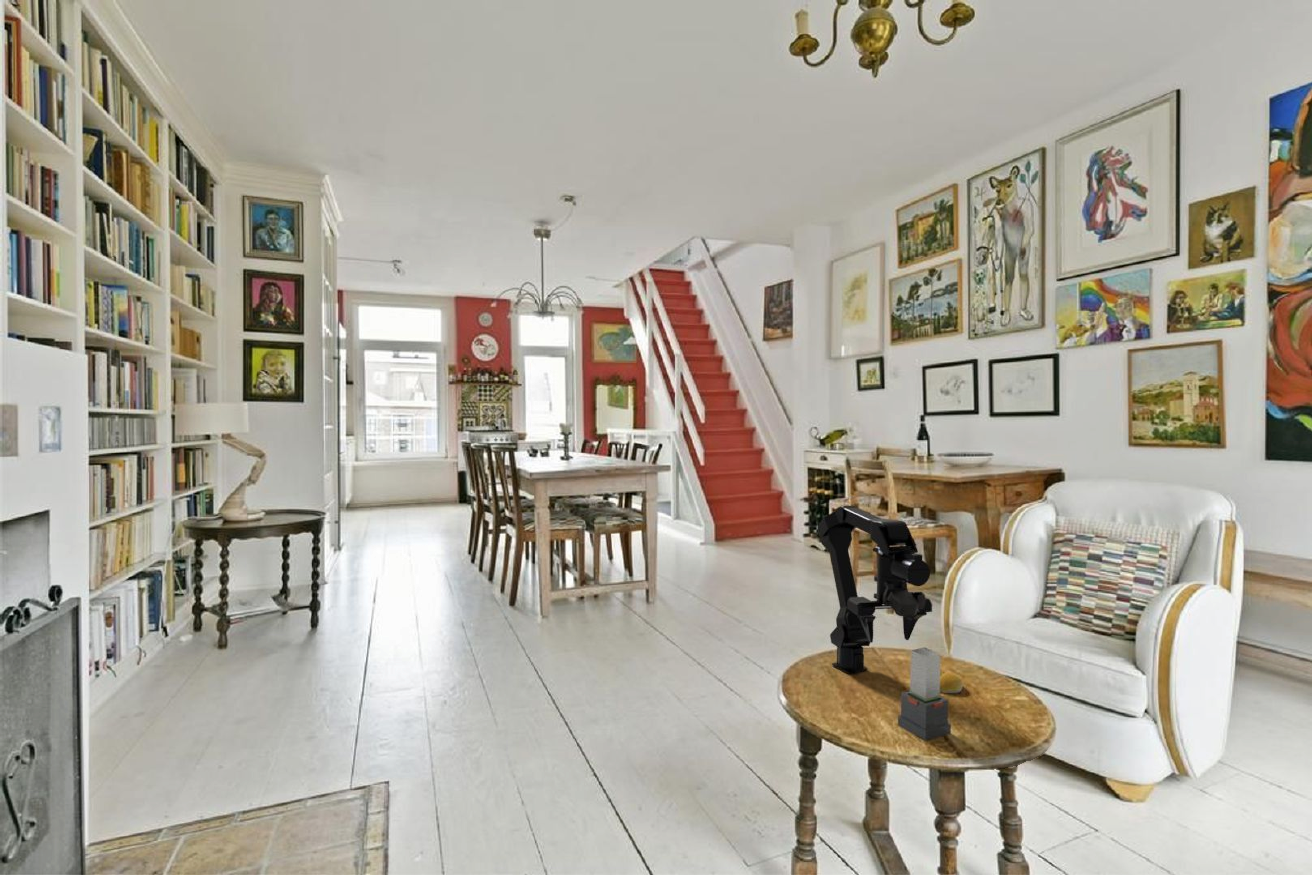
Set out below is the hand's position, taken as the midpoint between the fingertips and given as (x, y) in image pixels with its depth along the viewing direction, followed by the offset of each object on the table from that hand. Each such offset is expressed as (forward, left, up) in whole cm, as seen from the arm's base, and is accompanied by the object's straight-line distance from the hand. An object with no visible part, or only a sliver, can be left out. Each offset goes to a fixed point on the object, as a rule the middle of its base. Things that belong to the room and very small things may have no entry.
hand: (888, 640), depth 148 cm
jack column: (+15, -5, -8) cm, 17 cm away
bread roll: (+1, +16, -14) cm, 21 cm away
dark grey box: (+15, -5, -13) cm, 20 cm away
